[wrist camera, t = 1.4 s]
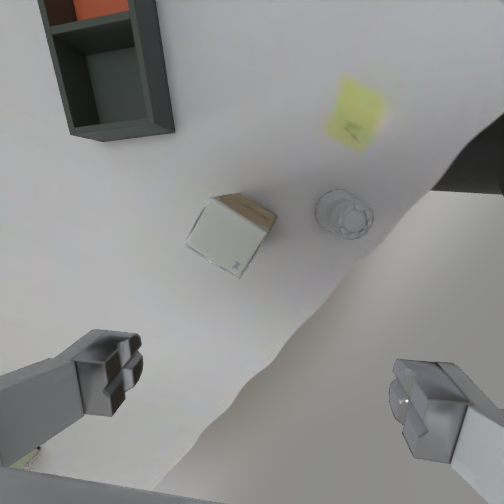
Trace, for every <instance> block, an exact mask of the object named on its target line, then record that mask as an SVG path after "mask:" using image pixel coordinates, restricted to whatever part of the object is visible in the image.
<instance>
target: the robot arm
mask: <svg viewBox="0 0 504 504" xmlns="http://www.w3.org/2000/svg"><path fill="white" fill-rule="evenodd" d="M141 345H142V344H141V338H140V336H139V335H138V334H136V333H128V332H119V331H111V330H110V331H109V330H101V329H95V330H91V331H90V332H88V333H87V334H86V335H84V336H83V337H82V338H80V339H79V340H78V341H76V342H75V343H74V344H72V345H71V346H70V347H68V348H67V349H66V350H64V351H63V352H62V353H60V354H59V355H58V356H56V357H55V358H54V359H51V358H48V359H45V360H43V361H40V362H37V363H35V364H32V365H29V366H26V367H24V368H21V369H18V370H15V371H13V372H10V373H7V374H5V375H2V376H0V504H224V503H218V502H212V501H205V500H200V499H194V498H188V497H182V496H176V495H170V494H164V493H158V492H153V491H147V490H141V489H135V488H129V487H123V486H117V485H111V484H105V483H99V482H93V481H87V480H81V479H75V478H70V477H64V476H58V475H52V474H46V473H40V472H34V471H28V470H22V469H16V468H10V467H9V466H11V465H12V464H13V463H15V462H16V461H18V460H19V459H21V458H22V457H24V456H25V455H27V454H28V453H30V452H31V451H33V450H34V449H36V448H37V447H39V446H40V445H42V444H43V443H44V442H46V441H47V440H49V439H50V438H52V437H53V436H55V435H56V434H58V433H59V432H61V431H62V430H64V429H65V428H67V427H68V426H70V425H71V424H73V423H74V422H76V421H77V420H78V419H80V418H81V417H83V416H84V414H90V415H99V416H109V417H112V416H113V414H114V413H115V412H116V410H117V409H118V408H119V406H120V405H121V404H122V402H123V401H124V400H125V392H126V391H128V390H130V389H131V388H133V387H134V386H135V385H136V383H137V382H138V381H139V378H140V376H141V373H142V370H143V356H142V355H141V354H140V353H139V351H138V350H139V348H140V347H141ZM393 372H394V374H395V375H396V377H397V378H396V379H395V380H393V381H392V382H391V383H390V388H389V402H390V406H391V409H392V412H393V414H394V417H395V419H396V420H397V421H399V422H400V423H401V424H402V425H403V426H404V428H403V433H402V434H403V436H404V438H405V440H406V442H407V444H408V446H409V449H410V451H411V453H412V454H413V457H414V458H417V459H423V460H429V461H435V462H441V463H447V464H451V465H450V466H451V467H452V468H453V469H454V470H455V471H456V472H457V473H458V474H459V475H460V476H461V477H463V479H464V480H465V481H466V482H467V483H468V484H469V485H470V486H471V487H472V488H473V489H474V490H475V491H476V492H477V493H478V494H479V495H480V496H481V497H483V498H484V500H486V502H487V503H489V504H504V409H498V408H497V407H496V406H495V405H494V404H493V402H492V401H491V400H490V399H489V398H488V397H487V396H486V395H485V394H484V393H483V392H482V391H481V390H480V389H479V388H478V387H477V386H476V385H475V384H474V383H473V381H472V380H471V379H470V378H469V377H468V376H467V375H466V374H465V373H464V372H463V371H462V370H461V369H460V368H459V367H458V366H457V365H455V364H453V363H446V362H426V361H413V360H402V359H397V360H396V361H395V363H394V367H393Z"/></svg>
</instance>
